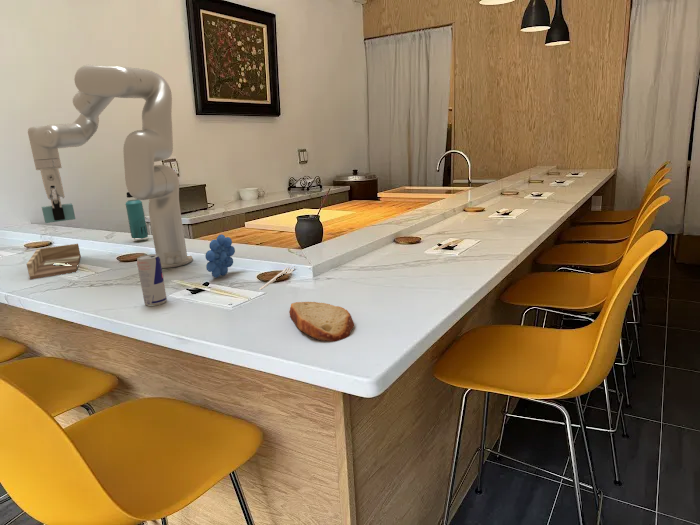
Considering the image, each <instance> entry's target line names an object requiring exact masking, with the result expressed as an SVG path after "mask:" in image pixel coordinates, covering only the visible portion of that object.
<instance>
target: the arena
mask: <svg viewBox="0 0 700 525" xmlns="http://www.w3.org/2000/svg"><path fill="white" fill-rule="evenodd" d="M81 257H82V255H81V252H80V246H79V243H73V244H65V245H57V246H50V247H49V246H48V247H43V248H36V250H35V251H34V252H33V254H32V255H31V257H30V258H29V260H28V261H27V263H26V268H27V271H28V276H29V280H34V279H35V280H36V279H41V278H49V277H53V276H54V277H55V276H60V275H61V274H62V275H66V273H68V274H73V273H72V272H75V273H77V272H78V269H77V265H78V264H80V261H81ZM54 263H65V264H67V263H68V264H70V265H72V266H54V265H53V264H54ZM78 266H79V265H78ZM76 271H77V272H76Z"/></svg>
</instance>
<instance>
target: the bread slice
mask: <svg viewBox="0 0 700 525" xmlns="http://www.w3.org/2000/svg"><path fill="white" fill-rule="evenodd" d="M289 317H290V319H291V321H292V322H293V323H294V325H295V326H296V327H297V328H296V329H298V330H299V331H300V332H302V333H304V334H305V335H307V336H308V337H311V338H313V339H315V340H318V341H322V342H331V343H333V342H335V343H336V342H338V341H341V340H344V339H346V338H349V337H350V334H351V332H352V330H353V329H354V327H355V322H354V320H353V318H352V315H351V313H350V312H349V311H348V310H347V309H345V308H344V307H343V306H339V305H337V306H336V305H333V304H330V303H325V302H317V301H297V302H293V303H291V305H290V308H289Z"/></svg>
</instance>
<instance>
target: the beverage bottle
mask: <svg viewBox="0 0 700 525" xmlns="http://www.w3.org/2000/svg"><path fill="white" fill-rule="evenodd" d="M127 198H134V197H133V196H131V194H130V193H129V191H127V192H126V199H127ZM124 205H125V209H126V214H127V218H128V220H127V221H128V226H129V231H130V237H131V238H141V239H145V238H147V237H149V233H148V232H149V231H148V225H147V221H146V216H145V210H144V206H143V200H138V199H129V200H127V201H126V202H125V204H124Z"/></svg>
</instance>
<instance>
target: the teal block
mask: <svg viewBox="0 0 700 525" xmlns="http://www.w3.org/2000/svg"><path fill="white" fill-rule="evenodd" d="M61 206H62V207H63V211H64V216H65V219H64V220H56V221H55V220H54V216H53V212H52V209H53V208H52V205H48V206H41V211H42V214H43V215H42V216H43V220H44V223H45V224H50V223H58V222H64V221H65V222H66V221H72V220H76V215H75V210H74V205H73V204H72V203H65V204H64V203H63V204H62V203H61Z"/></svg>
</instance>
